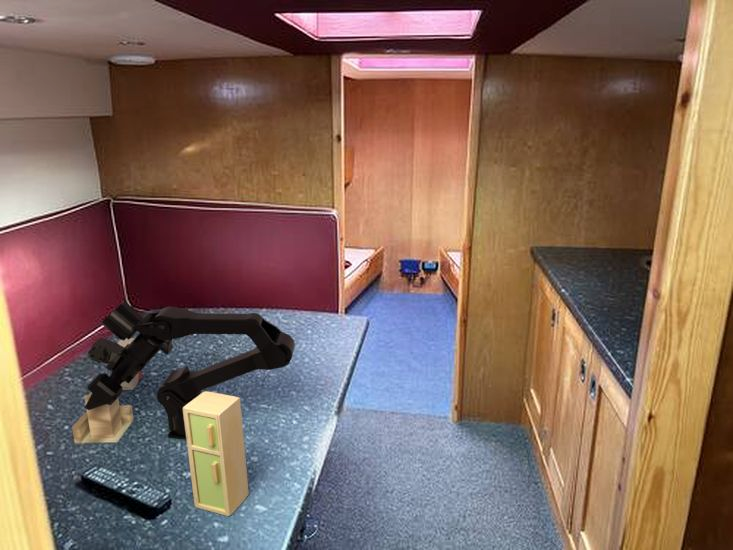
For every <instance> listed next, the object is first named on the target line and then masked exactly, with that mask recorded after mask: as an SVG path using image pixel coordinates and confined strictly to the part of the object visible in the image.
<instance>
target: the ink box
mask: <svg viewBox="0 0 733 550" xmlns="http://www.w3.org/2000/svg"><path fill="white" fill-rule="evenodd" d="M135 338H136V337H131V338H130V339H129V340H128V339H127V338H126V339H125V340H124V341H123V340H120V339H119V340H118V341H117V343H118V344H119V345H121V346H123V347H125V346H126V345H127V344H130V343H131V342H132V341H133V340H134V339H135ZM142 372H143V371H142V370H141V371H140V372H139V373H138V374H137V375H136V376H135V377H134V378H133V379H132V380H131V382H130V383H129V384H128V383H127V382H126V381H125V382H123V383H122V384H121V386H122V389H123V391H133V389H134V388H136V386H137V385H138V383H139V382H140V380H141V379H142V377H143V375H142ZM134 390H135V389H134Z"/></svg>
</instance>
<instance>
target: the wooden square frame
mask: <svg viewBox="0 0 733 550" xmlns="http://www.w3.org/2000/svg"><path fill="white" fill-rule="evenodd" d="M119 406H120V413H121V420H122V427H121V429H120V430H119V431H118V433H117V434H116V435H115V437H114V438H91V434H90V428H89V421H88V415H87V410H86V411H85V413H83V415H82V416H80V418H79V419H78V420H77V421H76V422H75V423H74V424H73V425H72V426H71V428H72V429H71V430H72V436H73V440H74V444H90V443H91V444H92V443H94V444H95V443H99V444H100V443H118V442H119V441H120V440H121V438H122V437H123V436H124V434H125V433H126V431H127V430H128V428H130V426H131V424H132V423H133V422H134V414H133V413H134V411H133V405H132V404H123V405H121V404H119Z"/></svg>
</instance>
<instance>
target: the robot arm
mask: <svg viewBox="0 0 733 550" xmlns="http://www.w3.org/2000/svg"><path fill="white" fill-rule="evenodd" d="M100 325H102V326H103V327H104V328H105V329H107V330H108V331H110V332H111V333H112V334H113V335H114V336H116V337H117V339H119V340H123V341H124V340H125V339H128V340H129V339H130V338H133V337H134V335H135V334H136V333H137V332H138V333H139V334H137V336H135V337H134V338H135V339H134V340H133V341H132V342H131V343H130V344H127V345H126V346H125V347H123V346H121V345H119V344H118V342H115V341H112V340H110V339H107V338H104V337H99V338H98V339H97V340H96V341H94V342H93V343H92V345H91V348H90V349H89V350H88V351H87V354H88V358H89V359H90V360H91V361H93V362H96V363H98V364H102V363H103V364H107V365H106V366H105V368H106V370H109V371H111V373H110V375H108V374H107V373H99V374H98V375H97V376H96V377H95V378H93V380H92V381H91V382H90V383H89V384H88V385H87V387H86V388H87V390H88V391H89V392H90V393H91V392H92V394H91V396H90V398H89V400H88V402H87V404H86V403H85V406H84V408H85V410H86V411H87V410H91V409H94V408H97V407H100V406H103V405H106V404H108V405H112V404H113V403H114V402H115V401H116V400H117V398H118V399H119V397H120V396H122V394H123V392H124V390H123V389H122V386H121V384H122V383H123V382H125V381H126V382H127V383H128V384H129V383H130V382H131V380H132V379H133V378H134V377H135V376H136V375H137V374H138V373H139V372H140V371H142V370H143V369H144V368H145V367H146V365H147V364H148V363H149V362H150V361H151V360H152V359H153V358H154V357H155V356H156V355H157V354H158V353H159V352H162V353H163V354H165V355H169V354H170V353H171V352H172V350H173V348H174V345H173V340H178V339H181V338H185V337H188V336H192V335H246V336H247V337H248V338H249V339H250V340H251V341H252V342H253V344H254V345H255V348H253V349H251V350H249V351H246V352H243V353H240V354H238V355H236V356H233V357H230V358H227V359H224V360H223V361H220V362H219V361H218V362H217V363H215V364H211V365H209V366H207V367H204V368H201V369H198V370H190V369H189V366H188V365H185V366H183V367H181V368H179V369H173V370H171V372H170V373H169V375H168V376H167V377H166V378H165V379H164V381H163V383H162V384H161V385H160V387H159V388H158V389H157V392H156V400H157V401H158V403H159V404H160V405H161V406H162V407H163V409H164V411H165V413H166V414H167V422H168V430H169V432H168V434H167V438H173V439H180V440H181V439H183V440H187V439H186V432H185V423H184V416H183V407H184V406H185V405H187V404H188V403H189V402H191V401H192V400H193V399H195V398H196V397H197V396H199V395H200V394H201V393H202V392H203V391H204V390H206V389H209V388H211V387H212V388H213V387H214V386H217V385H220V384H223V383H224V382H228V381H230V380H233V379H235V378H238V377H240V376H243V375H246V374H249V373H251V372H254V371H256V370H263V371H271V370H276V369H281V368H285V367H287V366H288V365H289V364H290V363H291V361H292V358H293V355H294V351H295V347H296V345H295V340H294V338H293V337H292V336H291V335H290V334H288V333H285V332H283V331H282V330H281V329H279V328H278V326H277V325H274V324H273V323H271V322H269V321H267V320H266V319H265V318H264V317H263V316H262V315H260V314H259V313H257V312H251V313H215V312H214V313H213V312H212V313H208V312H207V313H205V312H204V313H203V312H201V313H199V312H194V311H191V310H189V309H186V308H183V307H182V308H181V307H177V306H166V307H164V308H162V309H161V310H160V311H154V312H149V313H148V312H147V313H146V314H145V315H144V316H143V315H141V314H139V312H137V311H136V310H135V309H133V308H132V306H131V305H130V304H129V303H127V302H126V301H122V302H121V303H120V304H119V305H118V306H117V307H116V308H115V309H114V310H112V312H110V313H109V314H108V315H107V316H106V317H105V318H104V319H102V321H101V322H100Z"/></svg>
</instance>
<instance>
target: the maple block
mask: <svg viewBox="0 0 733 550" xmlns="http://www.w3.org/2000/svg"><path fill="white" fill-rule="evenodd" d="M91 394H92V392H91V391H90V393H89V394H88V395H87V396H85V398H84V402H85V405H86V404H87V402H88V400H89V398H90V396H91ZM119 401H120V400H119V397H118V398H117V400H116V401H115V402H114V403H113V404H112V405H108V404H106V405H103V406H100V407H97V408H94V409H91V410H87V409H86V411H87V415H88V421H89V428H90V434H91V438H114V437H115V435H116V434H117V433H118V431H119V430H120V429H121V427H122V420H121V413H120V406H119V405H120V402H119Z"/></svg>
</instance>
